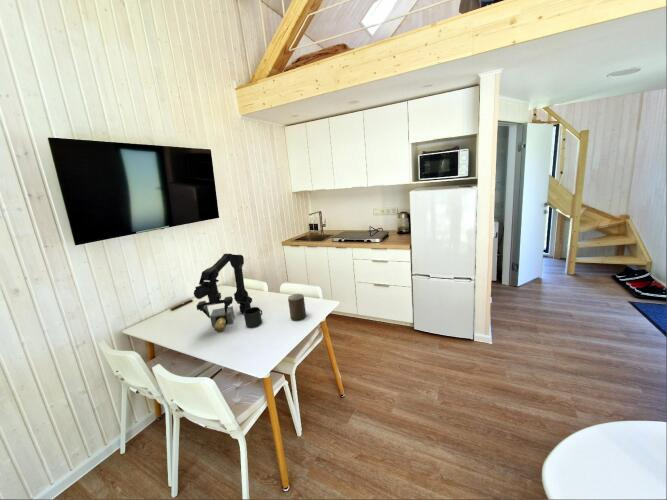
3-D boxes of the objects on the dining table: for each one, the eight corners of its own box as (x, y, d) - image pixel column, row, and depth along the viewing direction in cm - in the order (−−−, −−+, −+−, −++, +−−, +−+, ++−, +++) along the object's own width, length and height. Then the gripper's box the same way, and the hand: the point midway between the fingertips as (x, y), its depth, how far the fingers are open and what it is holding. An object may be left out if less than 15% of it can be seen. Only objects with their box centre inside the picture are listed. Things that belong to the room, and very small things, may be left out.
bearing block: (215, 320, 175) (213, 309, 173) (234, 316, 177) (232, 305, 175) (212, 327, 165) (209, 316, 163) (232, 323, 168) (230, 312, 166)
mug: (268, 320, 168) (266, 306, 166) (253, 329, 159) (250, 315, 156) (258, 317, 173) (256, 304, 171) (242, 326, 164) (240, 312, 162)
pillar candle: (303, 321, 163) (300, 298, 159) (288, 320, 165) (285, 298, 161) (308, 313, 172) (305, 291, 168) (293, 313, 174) (290, 291, 170)
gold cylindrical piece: (219, 322, 171) (217, 313, 169) (228, 320, 172) (226, 312, 170) (215, 333, 158) (213, 324, 156) (225, 331, 159) (223, 322, 157)
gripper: (231, 284, 164) (236, 307, 168) (198, 289, 160) (204, 313, 164) (229, 290, 153) (234, 315, 157) (193, 296, 150) (199, 322, 153)
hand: (218, 316), depth 158 cm, fingers open, 9 cm apart
